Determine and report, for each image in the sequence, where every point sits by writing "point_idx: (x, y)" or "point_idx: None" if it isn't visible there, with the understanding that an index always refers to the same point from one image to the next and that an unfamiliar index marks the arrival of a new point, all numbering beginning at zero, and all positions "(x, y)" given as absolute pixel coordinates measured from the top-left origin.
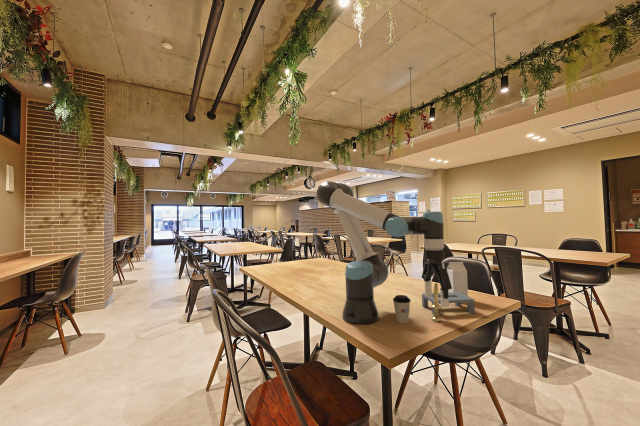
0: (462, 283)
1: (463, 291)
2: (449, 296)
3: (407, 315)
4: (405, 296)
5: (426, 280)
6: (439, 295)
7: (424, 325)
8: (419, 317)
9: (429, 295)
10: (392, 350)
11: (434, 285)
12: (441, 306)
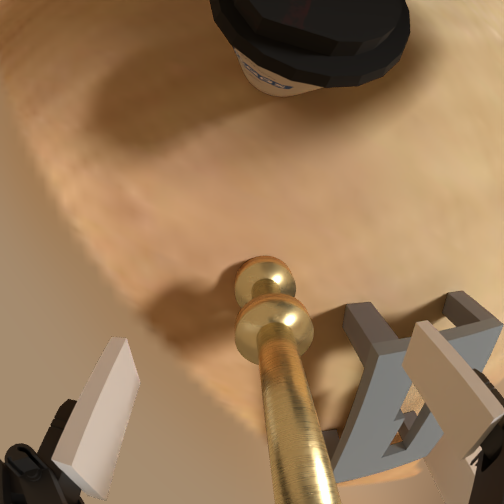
0: (446, 478)
1: (434, 459)
2: (415, 429)
3: (244, 68)
4: (331, 17)
5: (498, 433)
6: None
7: (191, 173)
8: (332, 201)
9: (411, 356)
10: (2, 3)
11: (290, 494)
12: (117, 337)
